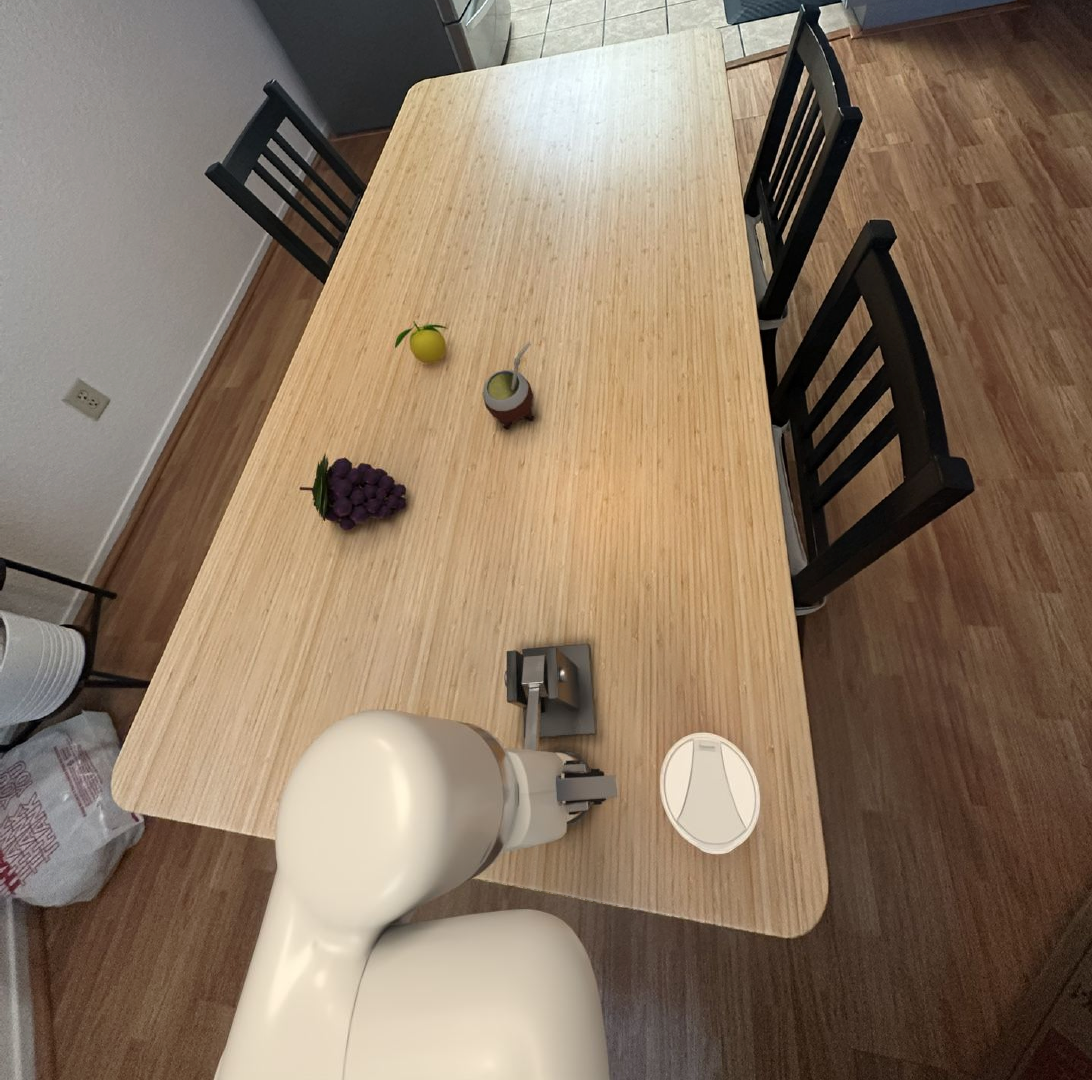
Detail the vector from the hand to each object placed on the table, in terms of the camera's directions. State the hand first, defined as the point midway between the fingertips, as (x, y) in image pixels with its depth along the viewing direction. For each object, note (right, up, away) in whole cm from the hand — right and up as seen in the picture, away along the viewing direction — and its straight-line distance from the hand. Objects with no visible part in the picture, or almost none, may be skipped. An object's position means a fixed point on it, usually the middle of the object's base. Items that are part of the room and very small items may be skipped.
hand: (517, 788), depth 48 cm
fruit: (-24, +12, +41) cm, 49 cm away
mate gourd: (-2, +25, +44) cm, 51 cm away
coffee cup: (+19, -10, +15) cm, 26 cm away
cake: (+4, -12, +17) cm, 21 cm away
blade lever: (+1, -1, +8) cm, 8 cm away
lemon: (-16, +33, +53) cm, 65 cm away
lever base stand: (+4, -5, +22) cm, 23 cm away
